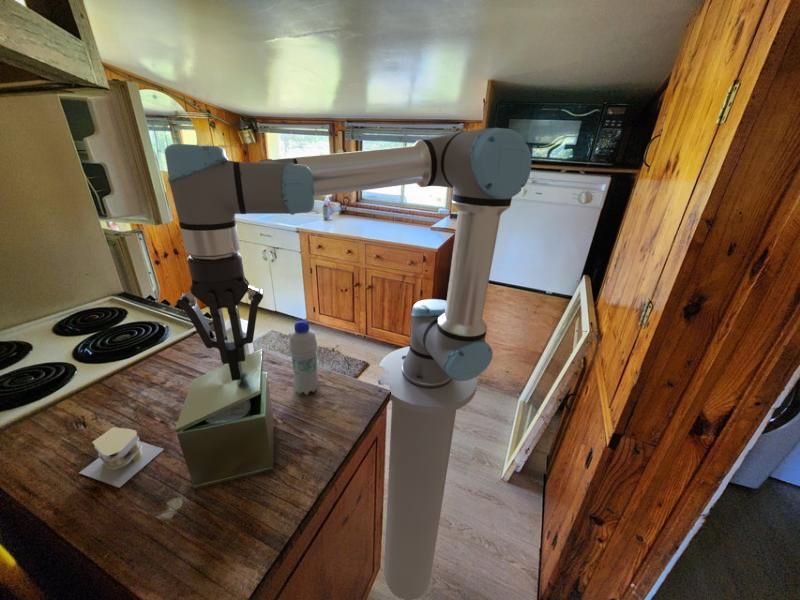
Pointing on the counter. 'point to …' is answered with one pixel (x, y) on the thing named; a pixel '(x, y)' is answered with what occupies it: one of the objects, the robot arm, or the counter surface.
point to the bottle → (304, 358)
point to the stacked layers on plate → (119, 456)
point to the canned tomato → (232, 413)
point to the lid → (221, 391)
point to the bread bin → (231, 444)
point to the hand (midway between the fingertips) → (237, 375)
